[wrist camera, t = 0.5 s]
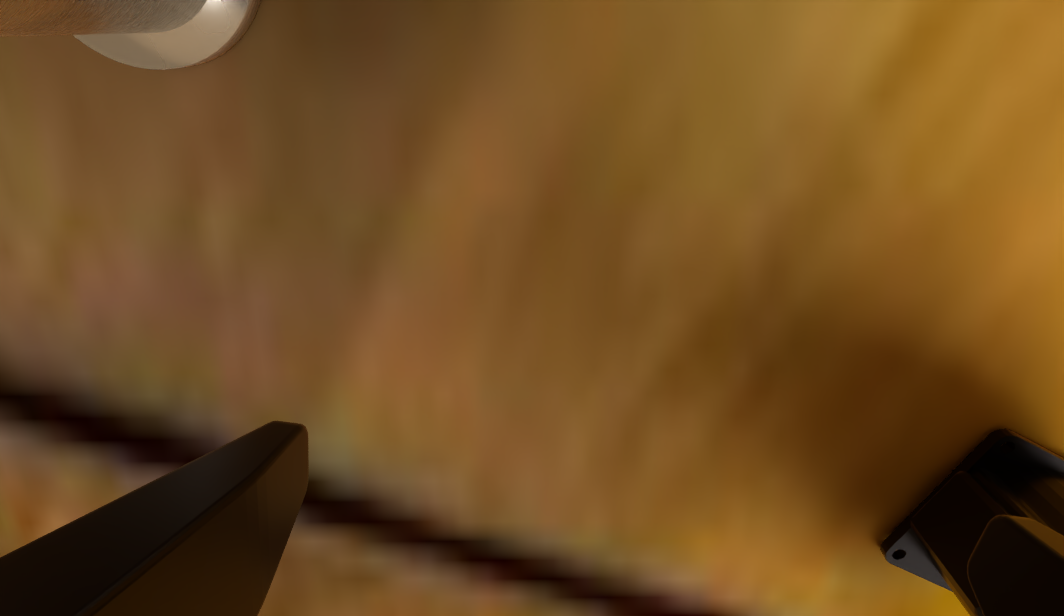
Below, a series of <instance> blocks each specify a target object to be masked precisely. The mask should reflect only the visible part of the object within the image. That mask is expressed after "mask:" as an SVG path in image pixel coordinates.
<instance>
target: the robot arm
mask: <svg viewBox="0 0 1064 616" xmlns="http://www.w3.org/2000/svg"><path fill="white" fill-rule="evenodd" d="M1005 442H1006V444H1004V443H1005ZM1002 444H1004V445H1003V446H1001V445H1002ZM308 477H309V469H308V432H307V429H306V427H305V426H304V425H303V424H298V423H290V422H283V421H272V422H270V423H267V424H265V425H264V426H262V427H260V428H258V429H256V430H254V431H252V432H250V433H248V434H246V435H244V436H242V437H240V438H238V439H236V440H234V441H232V442H230V443H228V444H226V445H224V446H222V447H220V448H218V449H216V450H214V451H212V452H210V453H208V454H206V455H204V456H202V457H200V458H198V459H196V460H194V461H192V462H190V463H188V464H186V465H184V466H182V467H180V468H178V469H176V470H174V471H172V472H170V473H168V474H166V475H164V476H162V477H160V478H158V479H156V480H154V481H152V482H150V483H148V484H146V485H144V486H142V487H140V488H138V489H136V490H134V491H132V492H130V493H128V494H126V495H124V496H122V497H120V498H118V499H116V500H114V501H112V502H110V503H108V504H106V505H104V506H102V507H100V508H98V509H96V510H94V511H92V512H90V513H88V514H86V515H84V516H82V517H80V518H78V519H76V520H74V521H72V522H70V523H68V524H66V525H64V526H62V527H60V528H58V529H56V530H54V531H52V532H50V533H48V534H46V535H44V536H42V537H40V538H38V539H36V540H34V541H32V542H31V543H29V544H27V545H25V546H23V547H21V548H19V549H17V550H15V551H13V552H11V553H9V554H7V555H5V556H3V557H1V558H0V616H257V615H258V613H259V611H260V609H261V607H262V605H263V603H264V600H265V598H266V595H267V593H268V590H269V588H270V585H271V583H272V580H273V578H274V575H275V572H276V570H277V567H278V564H279V562H280V559H281V557H282V554H283V551H284V549H285V546H286V544H287V541H288V538H289V536H290V533H291V531H292V528H293V525H294V523H295V520H296V517H297V515H298V512H299V510H300V507H301V504H302V502H303V499H304V496H305V493H306V490H307V485H308ZM880 550H881V552H882V554H883V555H884V557H885V559H886V560H887V561H888V562H889V563H891V564H893V565H895V566H897V567H900V568H902V569H904V570H906V571H908V572H911V573H913V574H915V575H917V576H919V577H922V578H924V579H926V580H928V581H930V582H933V583H935V584H937V585H939V586H941V587H944V588H946V589H948V590H950V591H952V592H953V593H954V594H955V595H956V597H957V598H958V599H959V601H960V602H961V604H962V605H963V606H964V608H965V609H966V610H967V612H968V613H969V615H970V616H1064V458H1063V457H1061V456H1059V455H1057V454H1055V453H1053V452H1051V451H1049V450H1048V449H1046V448H1044V447H1042V446H1040V445H1038V444H1036V443H1034V442H1032V441H1030V440H1028V439H1027V438H1025V437H1023V436H1021V435H1019V434H1017V433H1015V432H1013V431H1011V430H1008V429H999V430H996V431H994V432H992V433H991V434H990V435H989V436H988V437H987V438H986V439H985V440H984V441H983V442H982V443H981V444H980V445H979V446H978V447H977V448H976V449H975V450H974V451H973V452H972V453H971V454H970V455H969V456H968V457H967V458H966V459H965V460H964V461H963V462H962V463H961V464H960V465H959V466H958V467H957V468H956V469H955V470H954V471H953V472H952V473H951V474H950V475H949V476H948V477H947V478H946V479H945V480H944V481H943V482H942V483H941V484H940V485H939V486H938V487H937V488H936V489H935V490H934V491H933V492H932V493H931V494H930V495H929V496H928V497H927V498H926V499H925V500H924V501H923V502H922V503H921V504H920V505H919V506H918V507H917V508H916V509H915V510H914V511H913V512H912V513H911V514H910V515H909V516H908V517H907V518H906V519H905V520H904V521H903V522H902V523H901V524H900V525H899V527H898V528H897V529H896V530H895V531H894V532H893V533H892V534H891V535H890V536H889V537H888V538H887V539H886V540H885V541H884V542H883V543H882V545H881V548H880ZM896 550H897V551H896Z"/></svg>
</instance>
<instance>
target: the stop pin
mask: <svg viewBox="0 0 1064 616" xmlns="http://www.w3.org/2000/svg"><path fill="white" fill-rule="evenodd" d="M260 3H261V0H0V37H5V36H47V35H73V36H74V37H75V38H77V39H78V40H80V41H81V42H82V43H84V44H85V45H87V46H88V47H89V48H91V49H93V50H95V51H97V52H98V53H100V54H102V55H104V56H106V57H108V58H110V59H113V60H115V61H117V62H120V63H123V64H127V65H130V66H133V67H139V68H145V69H159V70H166V69H174V68H182V67H191V66H196V65H199V64H203V63H207V62H209V61H211V60H213V59H215V58H218V57H219V56H221V55H222V54H224V53H225V52H227V51H228V50H230V49H231V48H232V47H233V46H234V45H235V44H236V43H237V42H239V41H240V39H241V38H242V37H243V36H244V34H245V33H246V32H247V30H248V29H249V27H250V25H251V24H252V22H253V20H254V18H255V16H256V14H257V11H258V9H259V6H260Z"/></svg>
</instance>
